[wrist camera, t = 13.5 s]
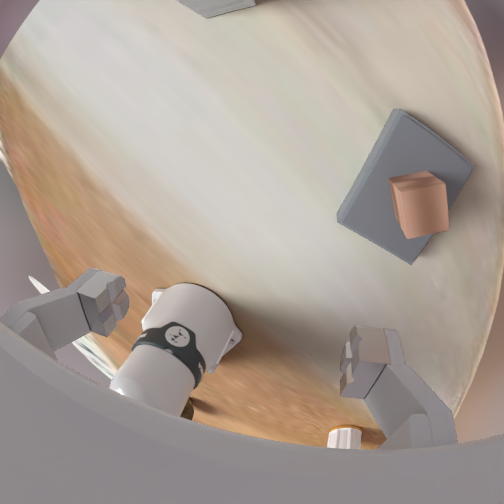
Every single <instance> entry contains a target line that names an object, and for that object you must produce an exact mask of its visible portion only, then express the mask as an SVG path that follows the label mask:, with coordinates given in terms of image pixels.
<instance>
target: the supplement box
mask: <svg viewBox="0 0 504 504" xmlns="http://www.w3.org/2000/svg"><path fill="white" fill-rule="evenodd" d="M176 1H177V2H179V3H181V4H183V5H184V6H186V7H188V8H189V9H191V10H193V11H194V12H196V13H197V14H199V15H201V16H202V17H204V18H205V19H206V18H210V17H213V16H216V15H220V14H224V13H227V12H231V11H235V10H239V9H243V8H248V7H252V6H255V5H256V3H255V0H176Z"/></svg>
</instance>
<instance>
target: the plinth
mask: <svg viewBox="0 0 504 504" xmlns="http://www.w3.org/2000/svg"><path fill="white" fill-rule="evenodd" d="M473 168H474V165H473V164H472V163H471V162H470V161H468V160H467V159H466V158H465V157H464V156H463V155H461V154H460V153H459V152H458V151H457V150H456V149H454V148H453V147H452V146H451V145H449V144H448V143H447V142H446V141H444V140H443V139H442V138H440V137H439V136H438V135H436V134H435V133H434V132H432V131H431V130H430V129H428V128H427V127H426V126H424V125H423V124H421V123H420V122H419V121H417V120H416V119H414V118H413V117H411V116H410V115H408V114H407V113H405V112H404V111H402V110H401V109H393V111H392V113H391V114H390V116H389V118H388V120H387V122H386V124H385V126H384V128H383V130H382V132H381V134H380V136H379V138H378V140H377V142H376V144H375V145H374V147H373V149H372V151H371V153H370V155H369V157H368V158H367V160H366V162H365V164H364V166H363V168H362V169H361V171H360V173H359V175H358V177H357V178H356V180H355V182H354V184H353V186H352V187H351V189H350V191H349V193H348V194H347V196H346V198H345V200H344V201H343V203H342V205H341V207H340V208H339V210H338V212H337V222H338V223H340V224H341V225H343V226H345V227H347V228H349V229H350V230H352V231H354V232H356V233H358V234H359V235H361V236H363V237H365V238H366V239H368V240H370V241H372V242H373V243H375V244H377V245H379V246H380V247H382V248H384V249H385V250H387V251H389V252H390V253H392V254H394V255H395V256H397V257H399V258H400V259H402V260H404V261H405V262H407V263H409V264H410V265H412V264H413V262H414V261H415V260H416V258H417V257H418V255H419V254H420V253H421V251H422V250H423V248H424V247H425V246H426V244H427V243H428V241H429V240H430V238H431V237H432V236H433V234H434V233H433V234H429V235H424V236H420V237H415V238H410V239H407V238H406V236H405V234H404V232H403V231H402V229H401V227H400V225H399V223H398V222H397V220H396V218H395V212H394V206H393V200H392V195H391V189H390V184H389V179H388V178H391V177H396V176H401V175H406V174H411V173H417V172H422V171H428V172H429V173H431V174H432V175H434V176H435V177H437V178H438V179H440V180H441V181H442V182H444V183H445V186H446V195H447V205H448V211H449V209H450V208H451V206H452V205H453V203H454V201H455V200H456V198H457V196H458V195H459V193H460V191H461V189H462V188H463V186H464V184H465V182H466V181H467V179H468V177H469V175H470V173H471V171H472V170H473Z"/></svg>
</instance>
